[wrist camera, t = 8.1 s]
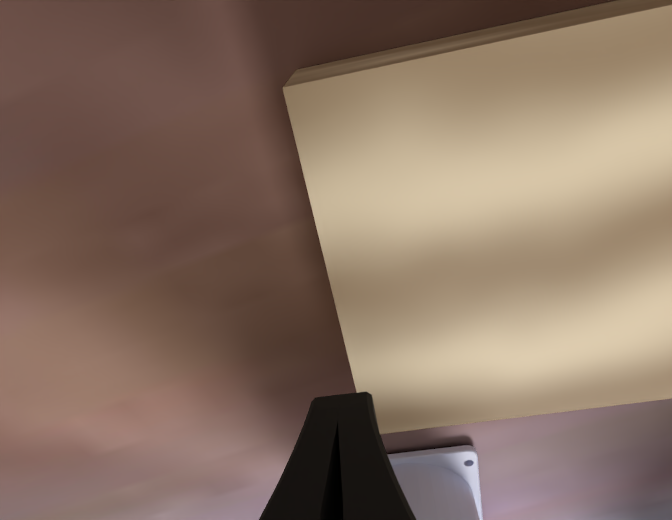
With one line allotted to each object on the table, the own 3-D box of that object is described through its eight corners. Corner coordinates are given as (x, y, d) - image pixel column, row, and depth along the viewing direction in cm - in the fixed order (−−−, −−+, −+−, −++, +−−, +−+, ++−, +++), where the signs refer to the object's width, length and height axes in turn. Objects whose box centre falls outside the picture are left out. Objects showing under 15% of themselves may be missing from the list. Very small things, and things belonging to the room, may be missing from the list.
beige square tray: (666, 327, 21) (729, 391, 18) (364, 369, 23) (367, 435, 19) (726, -24, 15) (844, -32, 11) (296, 69, 16) (282, 87, 13)
